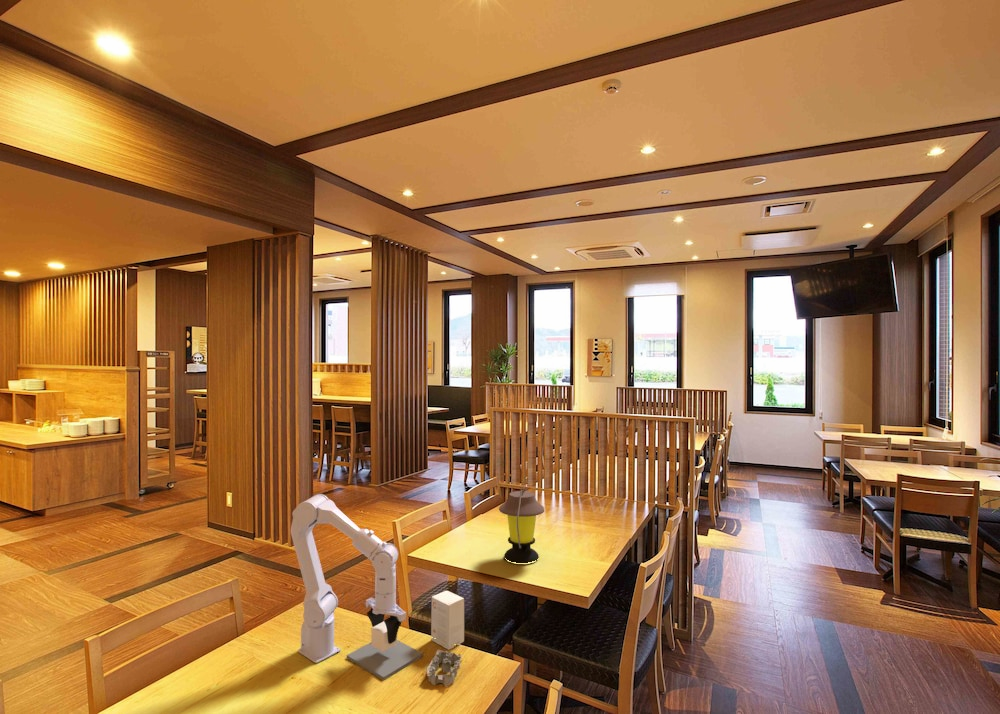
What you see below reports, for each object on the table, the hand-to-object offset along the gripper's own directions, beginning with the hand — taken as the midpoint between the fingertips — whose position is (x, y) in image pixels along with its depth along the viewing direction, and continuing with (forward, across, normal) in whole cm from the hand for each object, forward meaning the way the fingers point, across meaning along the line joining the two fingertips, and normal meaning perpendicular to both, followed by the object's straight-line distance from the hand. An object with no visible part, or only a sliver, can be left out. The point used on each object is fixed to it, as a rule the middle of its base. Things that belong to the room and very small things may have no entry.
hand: (385, 638), depth 144 cm
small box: (+6, +8, +17) cm, 20 cm away
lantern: (+6, -9, +83) cm, 84 cm away
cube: (+2, 0, 0) cm, 2 cm away
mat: (+5, 0, 0) cm, 5 cm away
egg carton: (+6, +18, +4) cm, 20 cm away
